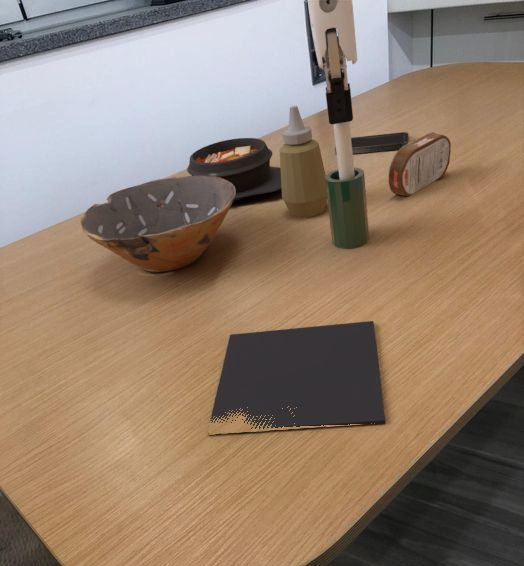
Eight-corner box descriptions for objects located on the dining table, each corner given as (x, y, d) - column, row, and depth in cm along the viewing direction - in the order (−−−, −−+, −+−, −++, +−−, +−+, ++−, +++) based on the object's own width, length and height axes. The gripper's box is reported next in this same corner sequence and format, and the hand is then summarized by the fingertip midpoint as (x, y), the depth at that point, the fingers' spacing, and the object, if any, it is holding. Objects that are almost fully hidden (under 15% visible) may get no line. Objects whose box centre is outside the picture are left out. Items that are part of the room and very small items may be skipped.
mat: (373, 324, 73) (373, 320, 73) (385, 424, 59) (385, 420, 59) (230, 337, 76) (230, 334, 76) (208, 435, 62) (207, 432, 62)
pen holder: (368, 233, 94) (363, 165, 88) (370, 249, 90) (365, 178, 83) (332, 238, 95) (324, 170, 89) (333, 254, 91) (324, 183, 84)
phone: (406, 143, 123) (334, 150, 127) (407, 148, 123) (334, 155, 128) (408, 131, 129) (339, 138, 133) (408, 136, 129) (339, 143, 134)
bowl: (228, 294, 86) (213, 230, 80) (74, 303, 92) (50, 244, 86) (260, 221, 106) (249, 165, 100) (131, 232, 112) (115, 180, 106)
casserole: (161, 212, 118) (149, 170, 113) (198, 177, 132) (189, 139, 127) (280, 208, 109) (273, 163, 104) (307, 171, 123) (302, 129, 118)
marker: (356, 188, 88) (345, 72, 79) (357, 194, 86) (345, 76, 77) (340, 190, 89) (327, 75, 80) (340, 196, 87) (327, 79, 78)
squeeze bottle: (296, 203, 110) (281, 101, 99) (337, 204, 106) (326, 98, 96) (277, 222, 104) (259, 115, 94) (321, 224, 100) (307, 113, 90)
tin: (438, 172, 110) (438, 125, 106) (454, 174, 108) (454, 126, 103) (387, 202, 103) (385, 153, 98) (403, 205, 101) (401, 155, 96)
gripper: (359, -43, 64) (372, 131, 75) (353, -49, 77) (365, 100, 88) (289, -28, 66) (312, 141, 76) (296, -36, 79) (314, 109, 89)
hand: (340, 118), depth 82 cm, fingers closed on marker, 2 cm apart
